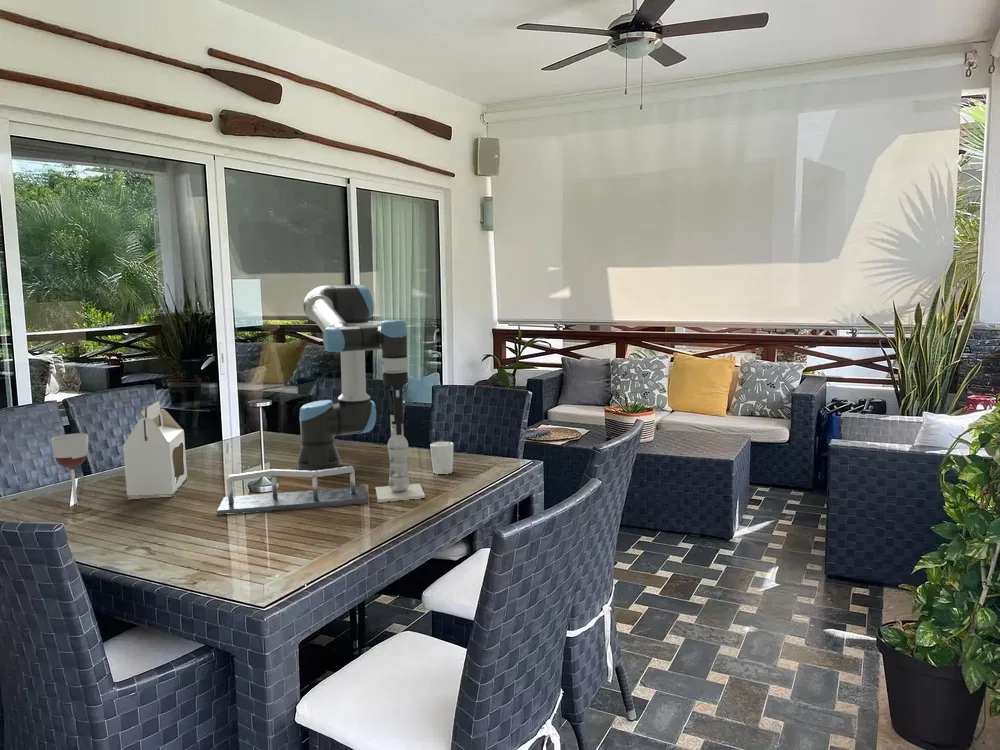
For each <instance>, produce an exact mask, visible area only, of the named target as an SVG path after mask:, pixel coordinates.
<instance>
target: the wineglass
mask: <svg viewBox="0 0 1000 750" xmlns="http://www.w3.org/2000/svg"><path fill="white" fill-rule="evenodd" d="M88 435H89V434H88V433H84V432H83V433H68V434H67V433H66V434H61V435H57V436H53V437H51V447H52V452H53V456H54V459H55V461H56V463H57V464H58V465H59V466H61V467H63V468H67V469H69V470H70V474H71V484H72V497H73V498H72V499H73V505H74V504H76V503H77V504H78V498H77V485H76V484H77V483H76V474H75V468H77V467H79V466H81V465H82V464H83V463H84V462H85V461H86V460H87V456H88V450H89V449H88V448H89V436H88Z"/></svg>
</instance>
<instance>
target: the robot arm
mask: <svg viewBox="0 0 1000 750" xmlns="http://www.w3.org/2000/svg"><path fill="white" fill-rule="evenodd" d="M302 307H303V310H304V314H305V315H306V317H307V318H308V319H309V320H310V321H312V322H314V323H316V325H317V326H318V327H319V328H320V330H321V331H322V333H323V334H322V343H323V346H324V349H325V351H327V352H329V353H331V352H332V353H340V373H341V375H340V377H341V394H340V395H338V397H337V403H334V402H333V401H332V399H324V400H323V399H321V400H318V401H317V400H315V401H312V402H308V403H305V404H303V405H302V406H301V407H300V408H299V418H298V419H299V426H300V427H299V428H300V431H299V432H300V443H301V444H300V450H299V454H298V457H297V461H296V463H297V464H296V465H297V467H296V468H297V470H299V469H300V470H308V471H317V470H324V469H332V468H339V467H340V466H341V457H340V454H339V452H338V449H337V447H336V443H335V437H337V436H338V437H339V436H347V435H355V434H358V435H360V434H363V433H365V434H366V433H369V432H371V431H372V430H373V428H374V427H375V424H376V420H377V409H376V403H375V401H374V400H371V395H369V394H368V393H367V383H366V382H367V381H366V380H367V379H366V353H365V352H366V351H375V350H381V357H382V360H380V365H382V371H383V372H382V384H383V385H384V386H388V387H389V389H388V396H389V414H390V428H391V427H393V426H394V445H395V446H398V445H404V437H405V436H404V435H405V434H404V433H403V431H404V422H405V420H404V407H403V403H404V401H403V399H404V397H403V396H404V394H403V393H404V392H403V390H402V389H401V386H404V385H407V384H408V383H409V372H408V371H407V370H408V369H409V366H408V365H409V364H408V363H409V362H408V342H407V341H408V339H407V336H408V330H407V323H406V321H405V320H403V319H387V320H382V321H381V323H380V324H374V325H368V324H369V319H370V318H372V317H373V315H374V310H375V309H374V301H373V297H372V294H371V292H370V289H369V288H368V287H367V286H366V285H364V284H335V285H334V284H333V285H332V284H327V285H326V284H325V285H320V286H317V287H315V288H313V289H312V290H311V291H309V292H308V293H307V295H306V297H304V301H303V305H302ZM391 436H392V434H391V433H390V437H391Z"/></svg>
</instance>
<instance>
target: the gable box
mask: <svg viewBox="0 0 1000 750" xmlns="http://www.w3.org/2000/svg"><path fill="white" fill-rule="evenodd" d="M160 405H161V404H160V400H156V401H155V402H153V403H152V404H150V405H148V406H146V407H145V408H144V409H143V410H142V411H139V413H140V415H141V417H142V418H140V419H139V420H138V422H137V423H136V425H135V426H134V428H133V429H132V431H131V433H130V434H129V436H128V437H127V439H126V441H125V442H124V444H123V445H122V450H123V461H124V462H123V465H124V475H125V476H124V477H125V486H126V496H127V495H150V494H151V495H153V494H173V493H174V492H175V491H176V489H177V488H178V487H179V486H180V485H181V484H182V482H183V481H184V480H185V479H186V477H187V478H188V473H187V457H186V444H185V442H186V441H185V431H184V429H183V428H182V426H180V425H179V423H178V422H177V421H176V420H175V419H174V418H173V416H172V415H171V414H170V413H169V412H168V411H167V410H166V409H164V408H161V406H160ZM175 477H178V479H177V482H176V483H175Z"/></svg>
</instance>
